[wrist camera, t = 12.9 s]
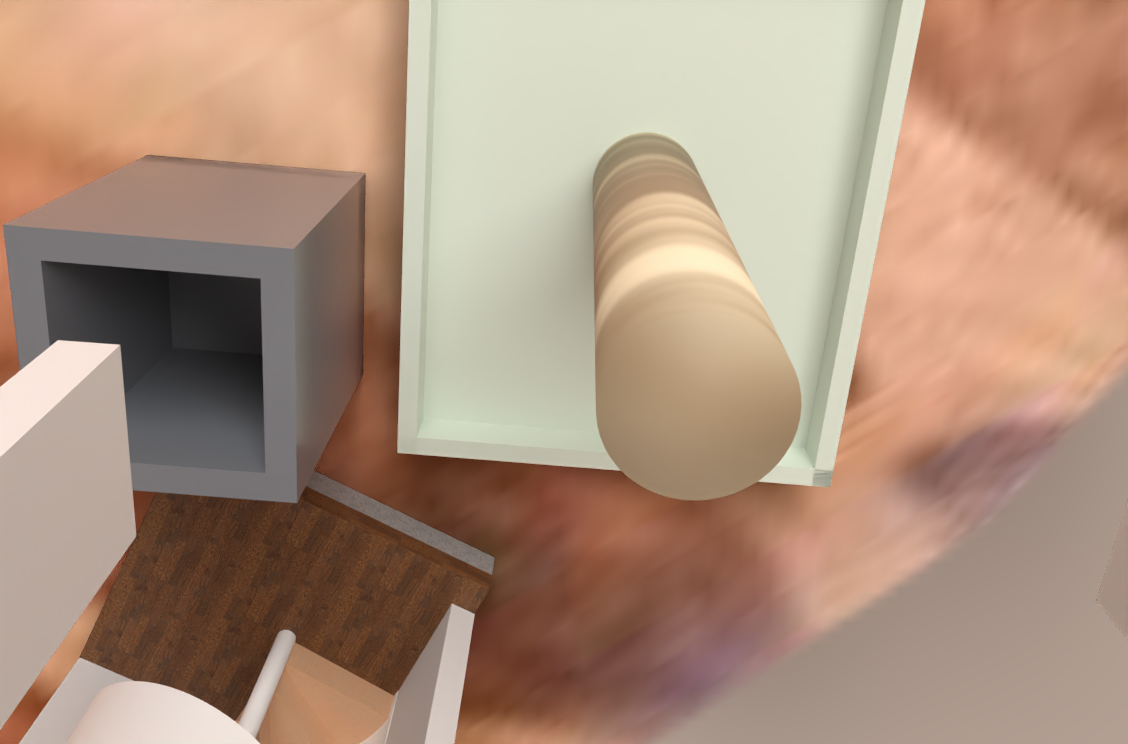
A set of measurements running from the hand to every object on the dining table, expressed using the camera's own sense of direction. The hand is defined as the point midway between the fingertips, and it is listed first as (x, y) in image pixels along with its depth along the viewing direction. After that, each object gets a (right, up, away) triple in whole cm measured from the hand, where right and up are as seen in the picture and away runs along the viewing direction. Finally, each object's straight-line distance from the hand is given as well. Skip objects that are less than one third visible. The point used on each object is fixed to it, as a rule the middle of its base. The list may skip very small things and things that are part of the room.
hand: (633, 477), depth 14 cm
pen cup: (-11, +5, +21) cm, 24 cm away
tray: (+2, +7, +20) cm, 21 cm away
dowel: (+2, +7, +19) cm, 20 cm away
